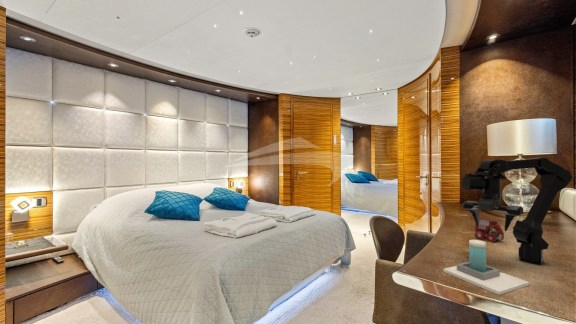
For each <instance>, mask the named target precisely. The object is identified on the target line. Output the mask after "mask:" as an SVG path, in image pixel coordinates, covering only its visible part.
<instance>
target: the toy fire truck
mask: <svg viewBox="0 0 576 324" xmlns="http://www.w3.org/2000/svg"><path fill="white" fill-rule="evenodd" d="M474 225H475V229H474V230H475V231H474V232H475V233H474V236H475V238H476V240H480V241H482V240H484V239H486V240H487V241H488V242H489V243H494V242H497V241H503V240H504V239H505V237H504V236H505V235H504V234H505V233H504V230H503V229H502V227H501V225H500V224H498V221H497V220H489V219H484V218H481V217H479V226H477V225H476V222H475V221H474Z"/></svg>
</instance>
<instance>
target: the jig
mask: <svg viewBox="0 0 576 324" xmlns="http://www.w3.org/2000/svg"><path fill="white" fill-rule="evenodd" d="M443 272H444V273H446V274H449V275H451V276H454V277H455V278H458V279H460V280H463V281H465V282H468V283H469V284H472V285H474V286H476V287H480V288H482V289H484V290H486V291H488V292H491V293H494V294H495V295H498V296H501V295H503V294H504V295H505V294H507V293H509V292H513V291H516V290H519V289H522V288H525V287H528V286H529V285H530V281H527V280H524V279H521V278H518V277H516V276H512V275H510V274H507V273H504V272H501V270H500V269H498V268H495V267H492V266H489V265H487V264H486V272H483V273H481V272H478V271H476V270H473V269H470V265H469V261H466V262H461V263H456V265H455V266H451V267H445V268H443Z"/></svg>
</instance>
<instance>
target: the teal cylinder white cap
mask: <svg viewBox="0 0 576 324" xmlns="http://www.w3.org/2000/svg"><path fill="white" fill-rule="evenodd" d="M468 248H469V249H468V250H469V251H468V252H469V256H468V257H469V261H468V262H469V265H470V269H473V270H476V271H478V272H481V273H483V272H486V265H487V242H486V241H483V240H480V239H469V241H468Z"/></svg>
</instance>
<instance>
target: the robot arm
mask: <svg viewBox="0 0 576 324" xmlns="http://www.w3.org/2000/svg"><path fill="white" fill-rule="evenodd" d="M523 169H534V170H535V171H534V172H535V173H536V174H538V176H539V177H540V179H539V183H540V189H539V191H538V193H537V195H536V197H535V199H534V201H533V203H532V205H531V206H530V209H529V211H528V213H527V215H526V217H524V219H523V220H516V221H515V224H514V225H513V227H512V228H511V229H513V230H512V235H513V237H514V238H515V241H516V242H517V243H518V244H519V243H520V245H519V247H518V259H519V261H521V262H525V263H529V264H530V263H531V264H535V265H539V266H542V264H543V263H544V262H545V260H544V250H548V248H549V246H550V245H549V243H548V242H547V241H546V240H545V239H544V238H543V233H544V231H543V225H542V224H543V222H544V220H545V218H546V216H547V214H548V212H549V210H550V208H551V206H552V204H553V202H554V200H555V198H556V197H557V194H558V193H559V192H561V191H563V189H565V188H566V187H567V186H568V185H569V184H570V182H571V181H572V180H573V175H572V174H571V172H570V171H569V170H568V169H565V168H564V167H563V166H561V165H559V164H557V163H554V162H552V161H551V160H550V159H549V158H546V157H533V158H522V159H510V160H507V159H484V160H482V161H481V163H480V164H479V167H478V168H477V169H476V171H475V172H474V173H465V174H464V176H463V177H462V180H461V187H462V189H463V190H465V191H482V193H481V197H480V198H479V199H478V200H477V201H475V200H466V201H463V203H462V208H463V209H466V211H468V212H469V213H470V214H471V215H472V217H473V219H474V223H475V222H476V224H475V225H477V226H479V218H480V211H488V212H492V211H499V212H506V214H504V216H505V220H504V221H505V222H504V232H507V231H508V229H509V227H510V225H511V223H512V221H513V220H514V218H516V217H518V216H521V215H523V214H524V207H523V206H521V205H513V204H510V205H507V206H503V205H502V199H501V198H502V197H501V196H502V192H501V186H502V185H501V184H502V181H501V180H507V179H508V177H506V176H505V175H503V173H507V172H509V171H512V170H523Z"/></svg>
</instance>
